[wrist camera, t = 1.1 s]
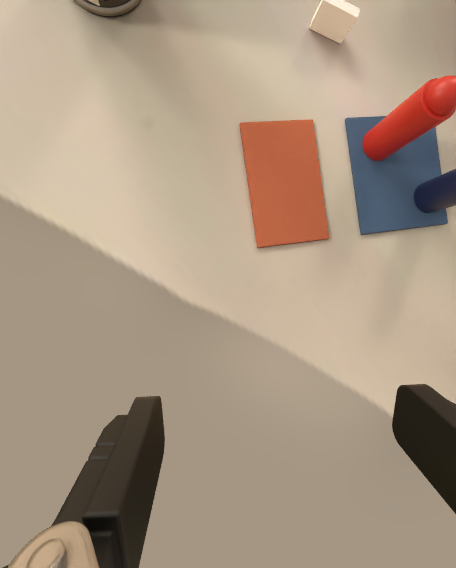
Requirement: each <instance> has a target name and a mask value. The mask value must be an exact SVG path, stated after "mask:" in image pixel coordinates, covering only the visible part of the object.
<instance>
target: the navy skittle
mask: <svg viewBox="0 0 456 568" xmlns="http://www.w3.org/2000/svg"><path fill="white" fill-rule="evenodd" d="M414 202H415V204H416V206H417V208H418V209H419V210H420V211H422V212H424V213H432V212H435V211H438V210H442V209H445V208H448V207H452V206H455V205H456V169H454V170H452V171H449V172H447V173H445V174H443V175H440V176H438V177H436V178H433V179H431V180H429V181H426V182H424V183H422V184H420V185H419V186H418V187H417V188H416V190H415V192H414Z"/></svg>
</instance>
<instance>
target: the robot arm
mask: <svg viewBox="0 0 456 568" xmlns="http://www.w3.org/2000/svg"><path fill="white" fill-rule="evenodd" d="M74 1H75V2H76V3H77V4H79V5H80V6H81V7H83V8H84V9H86V10H88V11H90V12H92V13H95V14H98V15H102V16H118V15H122V14H125V13H127V12H129V11H131V10H132V9H133V8H135V7H136V6H137V4H138V3H139V2H140V0H74ZM392 428H393V432H394V436H395V438H396V440H397V442H398V444H399V445H400V446H401V447H402V449H403V450H404V451H405V453H406V454H407V455H408V456H409V457H410V459H411V460H412V461H413V462H414V464H415V465H416V466H417V467H418V468H419V470H420V471H421V472H422V473H423V475H424V476H425V477H426V478H427V479H428V481H429V482H430V483H431V484H432V485H433V487H434V488H435V489H436V490H437V492H438V493H439V494H440V495H441V497H442V498H443V499H444V500H445V501H446V503H447V504H448V505H449V506H450V508H451V509H452V510H453V511H454V512H455V514H456V404H454V403H452V402H450V401H449V400H447V399H445V398H444V397H443V396H442V395H440V394H439V393H438V392H436V391H435V390H434V389H433V388H431V387H430V386H428V385H426V384H416V385H401V386H400V387H399V388H398V390H397V395H396V402H395V408H394V415H393V422H392ZM164 441H165V437H164V425H163V414H162V403H161V398H160V396H154V397H153V396H152V397H136V398H135V400H134V402H133V404H132V406H131V409H130V411H129V413H128V415H118V416H116V417H115V418H114V419H113V420H112V421H111V422H110V423H109V424H108V425H107V426H106V427H105V428H104V429H103V431H102V433H101V435H100V437H99V439H98V441H97V443H96V446H95V447H94V448H93V450H92V452H91V454H90V456H89V459H88V461H86V463H85V465H84V467H83V469H82V471H81V473H80V474H79V476H78V478H77V480H76V482H75V484H74V486H73V487H72V489H71V491H70V493H69V495H68V497H67V499H66V500H65V503H64V504H63V506H62V508H61V510H60V512H59V514H58V515H57V517H56V519H55V521H54V523H53V524H52V526H51V527H49V528H47V529H45V530H44V531H42V532H41V533H39V534H38V535H36V536H35V537H34V538H33V539H31V540H30V541H29V542H28V543H27V544H26V545H25V546H24V547H23V548H22V549H21V550H20V552H19V553H18V554H17V555H16V556H15V558H14V559H13V560H12V562H11V563H10V564H9V565H7V566H5V567H3V568H139V564H140V559H141V554H142V550H143V545H144V541H145V536H146V531H147V527H148V523H149V518H150V514H151V509H152V505H153V500H154V495H155V491H156V487H157V482H158V477H159V473H160V468H161V464H162V459H163V454H164Z"/></svg>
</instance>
